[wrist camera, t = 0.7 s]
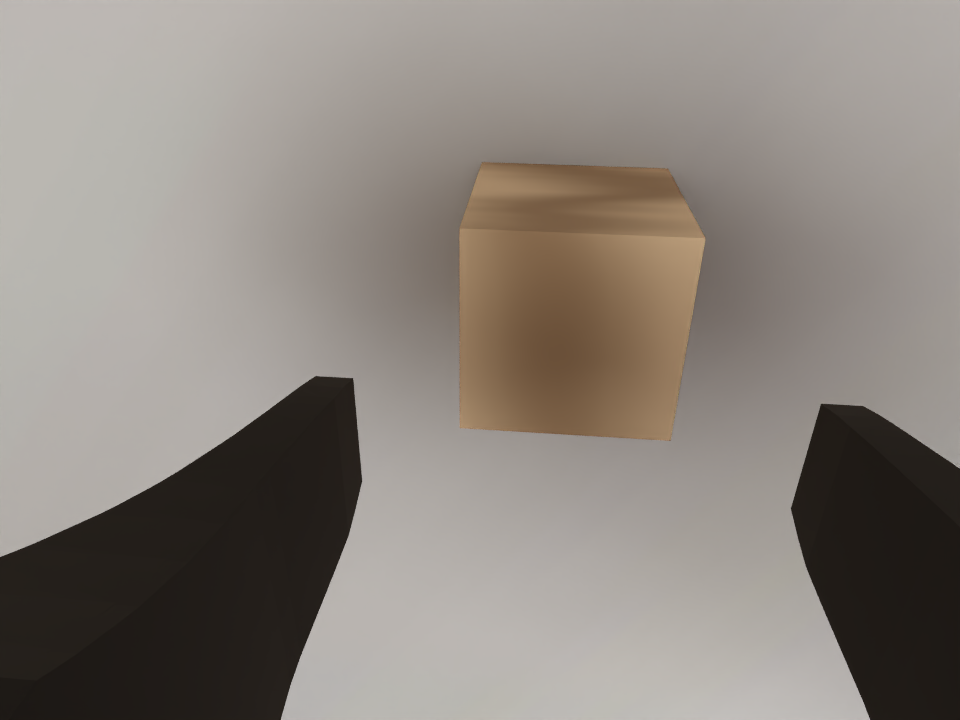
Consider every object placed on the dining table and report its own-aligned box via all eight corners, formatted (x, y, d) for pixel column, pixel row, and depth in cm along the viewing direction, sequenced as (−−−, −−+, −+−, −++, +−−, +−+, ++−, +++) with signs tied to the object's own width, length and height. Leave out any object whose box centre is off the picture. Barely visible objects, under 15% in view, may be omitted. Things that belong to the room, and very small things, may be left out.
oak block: (667, 168, 17) (705, 238, 13) (644, 333, 20) (670, 440, 15) (482, 161, 18) (459, 228, 13) (479, 325, 20) (460, 427, 16)
